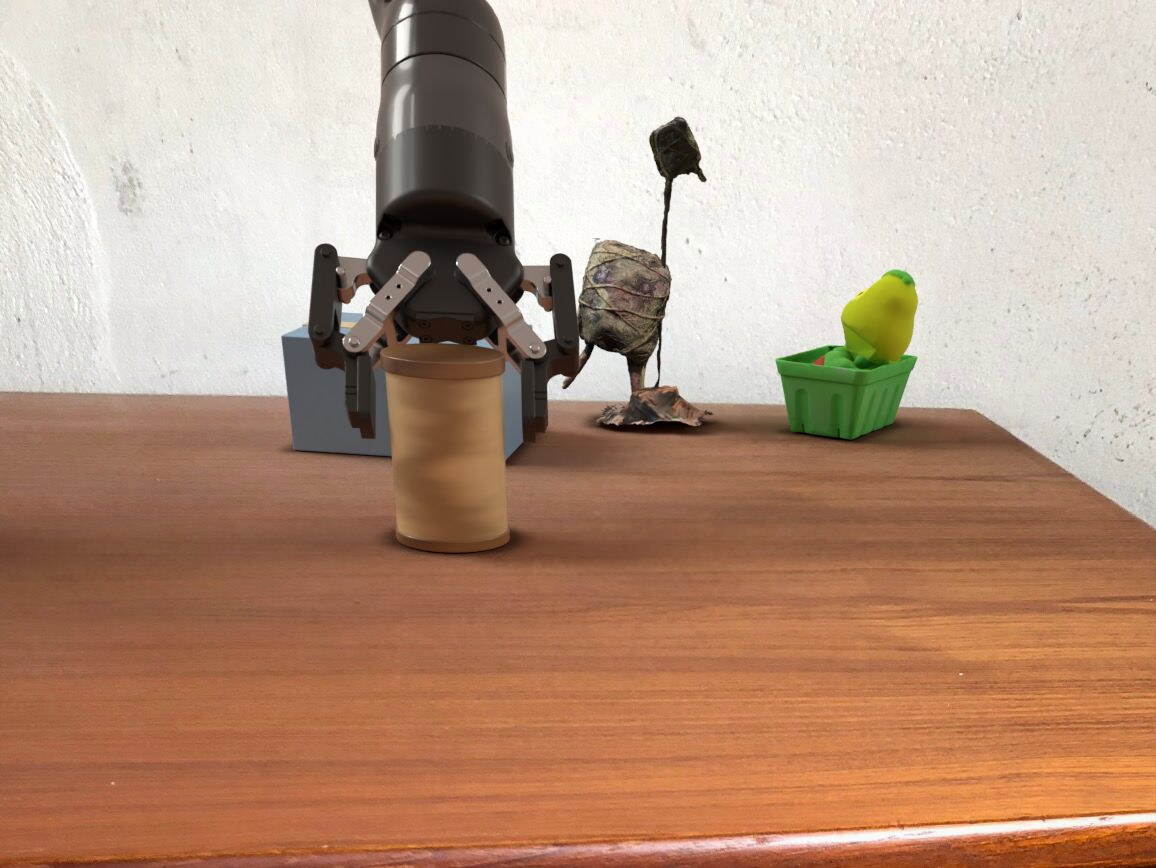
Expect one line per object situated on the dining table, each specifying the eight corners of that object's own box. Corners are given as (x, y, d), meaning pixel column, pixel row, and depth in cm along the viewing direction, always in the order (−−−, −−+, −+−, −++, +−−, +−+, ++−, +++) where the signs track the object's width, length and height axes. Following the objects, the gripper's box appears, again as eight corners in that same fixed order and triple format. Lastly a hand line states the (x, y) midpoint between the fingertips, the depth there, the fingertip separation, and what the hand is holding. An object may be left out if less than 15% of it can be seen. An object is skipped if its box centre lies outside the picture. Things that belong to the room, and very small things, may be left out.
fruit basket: (825, 410, 122) (836, 255, 116) (928, 425, 119) (945, 266, 113) (767, 432, 113) (775, 265, 107) (876, 448, 110) (891, 278, 104)
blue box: (291, 450, 100) (278, 334, 96) (343, 416, 110) (333, 310, 106) (504, 464, 99) (500, 348, 96) (536, 429, 110) (534, 323, 106)
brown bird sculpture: (592, 406, 118) (589, 109, 108) (727, 422, 116) (738, 119, 105) (547, 423, 112) (540, 108, 101) (690, 440, 109) (697, 119, 99)
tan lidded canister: (380, 549, 81) (364, 357, 76) (410, 520, 86) (397, 339, 81) (499, 557, 81) (491, 366, 76) (521, 527, 86) (515, 347, 81)
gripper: (573, 229, 88) (581, 476, 85) (324, 217, 86) (321, 469, 83) (574, 127, 81) (582, 393, 78) (301, 112, 79) (298, 384, 76)
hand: (447, 432), depth 80 cm, fingers open, 8 cm apart
